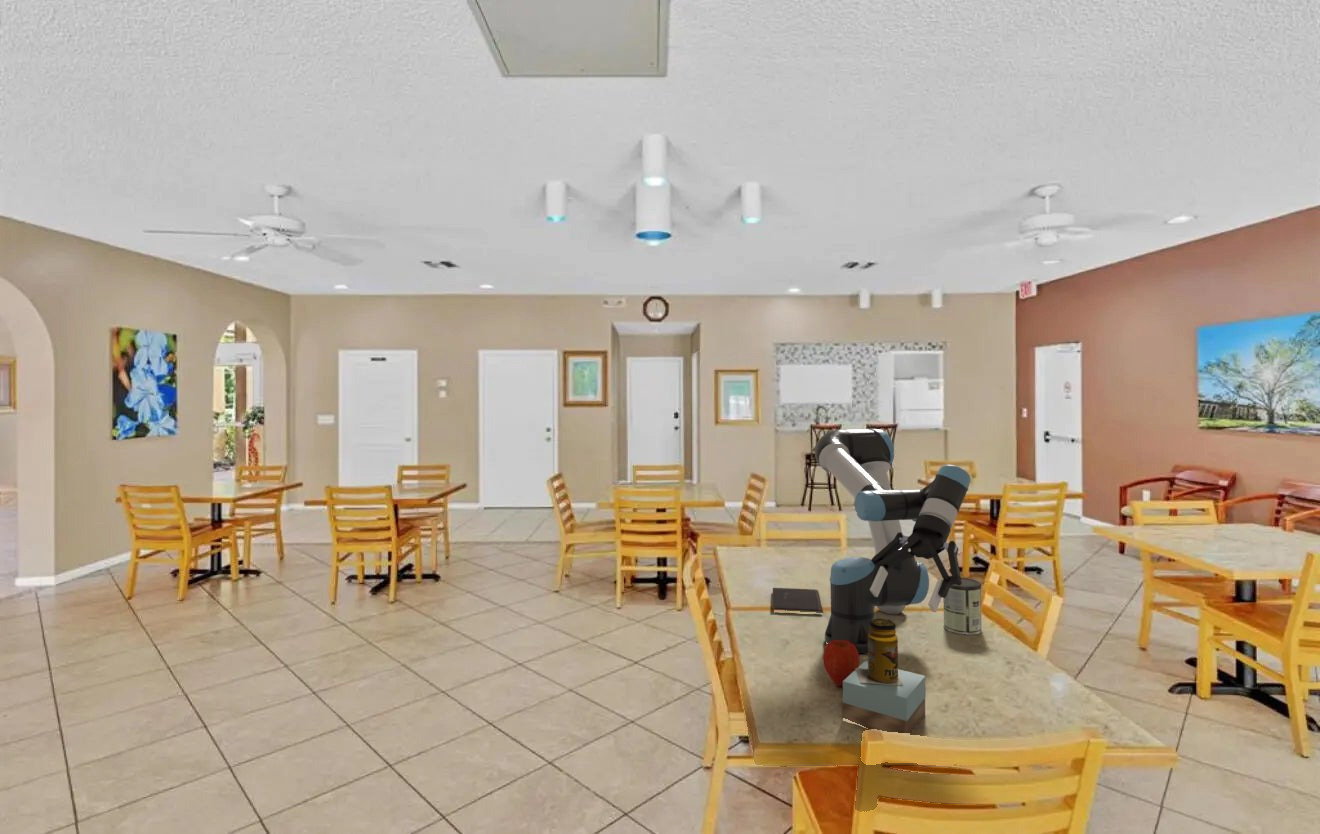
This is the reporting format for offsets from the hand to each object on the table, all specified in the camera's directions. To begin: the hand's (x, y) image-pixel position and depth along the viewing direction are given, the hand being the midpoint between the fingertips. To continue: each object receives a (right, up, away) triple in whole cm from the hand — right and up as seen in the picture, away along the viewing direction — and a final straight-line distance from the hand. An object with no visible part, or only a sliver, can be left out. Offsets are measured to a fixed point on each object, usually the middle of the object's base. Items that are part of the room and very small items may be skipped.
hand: (901, 600), depth 134 cm
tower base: (-5, -24, -4) cm, 25 cm away
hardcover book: (-6, -24, +75) cm, 79 cm away
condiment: (-6, -15, -3) cm, 17 cm away
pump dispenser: (+22, -23, +65) cm, 72 cm away
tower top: (-5, -20, -4) cm, 21 cm away
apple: (-10, -24, +12) cm, 28 cm away
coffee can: (+37, -23, +48) cm, 65 cm away
